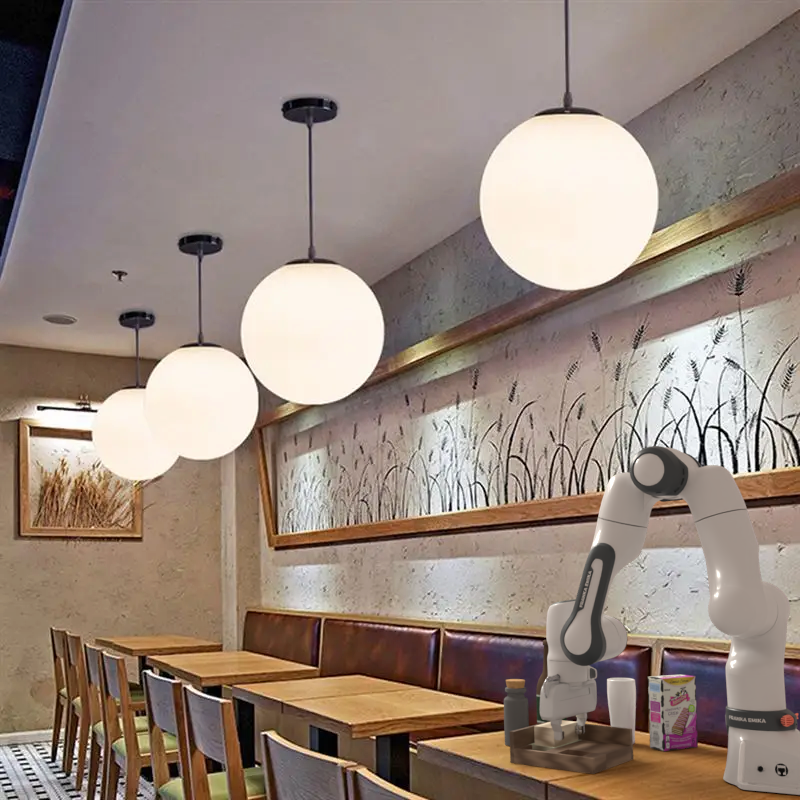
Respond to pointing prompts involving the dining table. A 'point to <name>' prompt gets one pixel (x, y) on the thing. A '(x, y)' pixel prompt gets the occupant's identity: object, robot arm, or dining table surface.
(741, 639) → the robot arm
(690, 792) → the dining table surface
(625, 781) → the dining table surface
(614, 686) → the drinking glass
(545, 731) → the cream rectangular block
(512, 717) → the bottle
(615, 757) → the brown compartment tray
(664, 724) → the candy bar box
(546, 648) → the beer bottle
